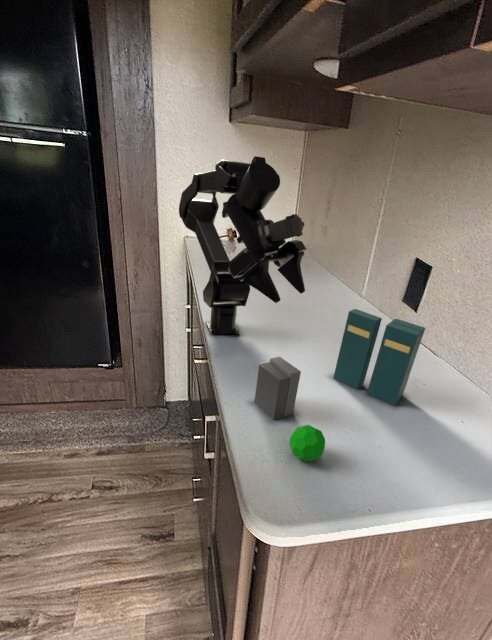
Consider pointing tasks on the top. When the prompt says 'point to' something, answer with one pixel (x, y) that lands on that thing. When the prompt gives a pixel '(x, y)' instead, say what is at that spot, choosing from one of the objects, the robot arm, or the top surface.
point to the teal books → (395, 360)
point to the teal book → (356, 348)
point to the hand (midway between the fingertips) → (291, 296)
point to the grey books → (277, 387)
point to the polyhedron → (307, 443)
